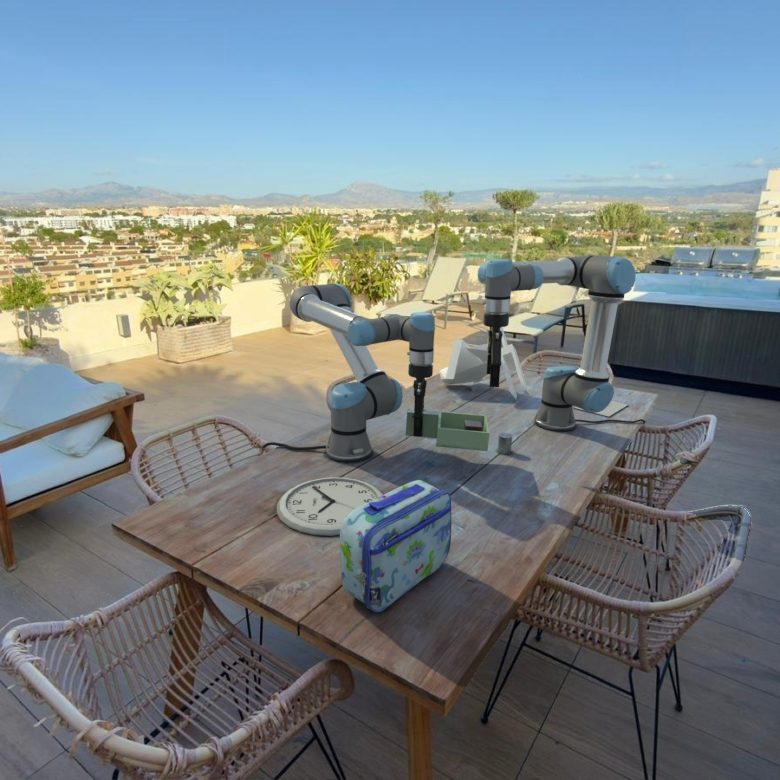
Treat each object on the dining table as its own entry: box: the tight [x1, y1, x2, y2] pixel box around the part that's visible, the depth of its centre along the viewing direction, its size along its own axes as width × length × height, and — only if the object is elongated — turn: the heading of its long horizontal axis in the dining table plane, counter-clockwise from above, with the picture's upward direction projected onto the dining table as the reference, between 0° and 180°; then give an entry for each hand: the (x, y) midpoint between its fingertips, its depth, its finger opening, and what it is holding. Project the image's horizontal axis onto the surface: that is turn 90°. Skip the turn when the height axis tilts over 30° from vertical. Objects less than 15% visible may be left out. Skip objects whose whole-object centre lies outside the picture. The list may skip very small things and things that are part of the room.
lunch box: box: [339, 479, 452, 613], centre depth 109 cm, size 26×11×21 cm, turn 134°
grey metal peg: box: [497, 432, 513, 455], centre depth 178 cm, size 4×4×6 cm
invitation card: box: [573, 400, 629, 418], centre depth 226 cm, size 21×1×15 cm
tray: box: [405, 408, 490, 452], centre depth 166 cm, size 26×16×8 cm, turn 83°
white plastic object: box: [438, 327, 531, 400], centre depth 245 cm, size 37×45×31 cm
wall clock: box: [276, 476, 385, 537], centre depth 142 cm, size 30×2×30 cm
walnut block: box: [464, 420, 482, 432], centre depth 162 cm, size 5×5×6 cm
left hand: (418, 433), depth 168 cm, fingers closed on tray, 3 cm apart
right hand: (492, 380), depth 164 cm, fingers open, 13 cm apart
